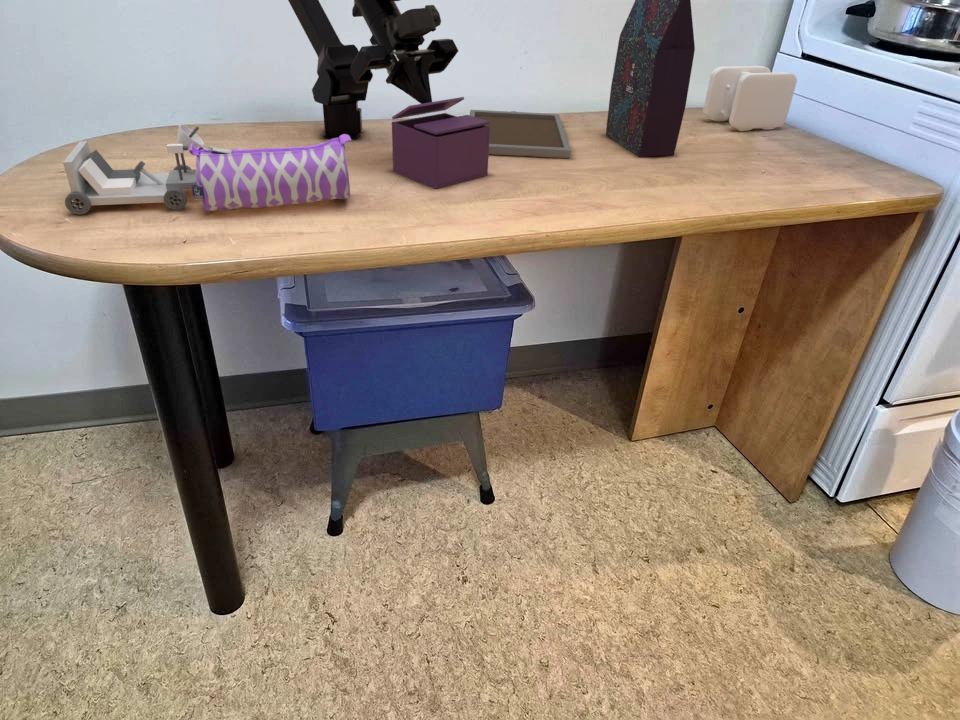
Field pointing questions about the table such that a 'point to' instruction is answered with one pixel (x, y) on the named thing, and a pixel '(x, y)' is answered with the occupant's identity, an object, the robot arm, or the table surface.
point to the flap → (427, 108)
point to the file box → (441, 149)
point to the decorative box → (651, 77)
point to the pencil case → (270, 175)
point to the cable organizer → (749, 96)
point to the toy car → (128, 178)
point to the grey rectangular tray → (525, 133)
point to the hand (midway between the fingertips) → (429, 105)
